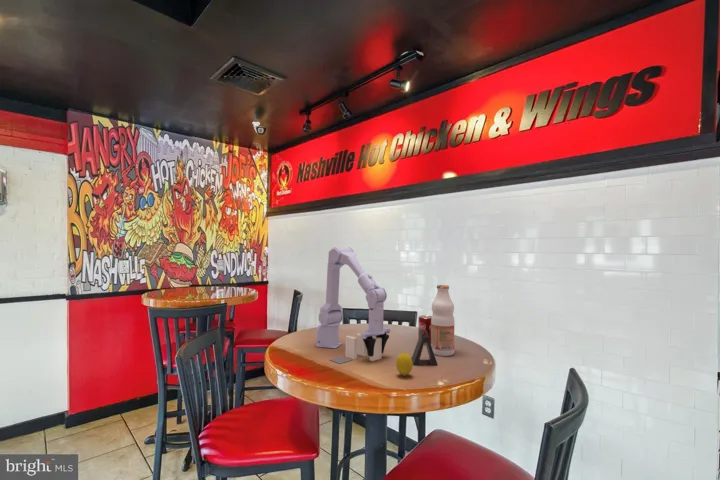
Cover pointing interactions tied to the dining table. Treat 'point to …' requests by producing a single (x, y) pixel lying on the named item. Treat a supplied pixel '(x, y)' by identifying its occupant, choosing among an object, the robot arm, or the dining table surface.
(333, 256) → the robot arm
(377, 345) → the tile
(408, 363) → the lemon
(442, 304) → the fruit juice
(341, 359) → the end marker
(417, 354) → the phone stand
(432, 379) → the dining table surface
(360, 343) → the tile
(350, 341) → the tile
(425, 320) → the soda can
